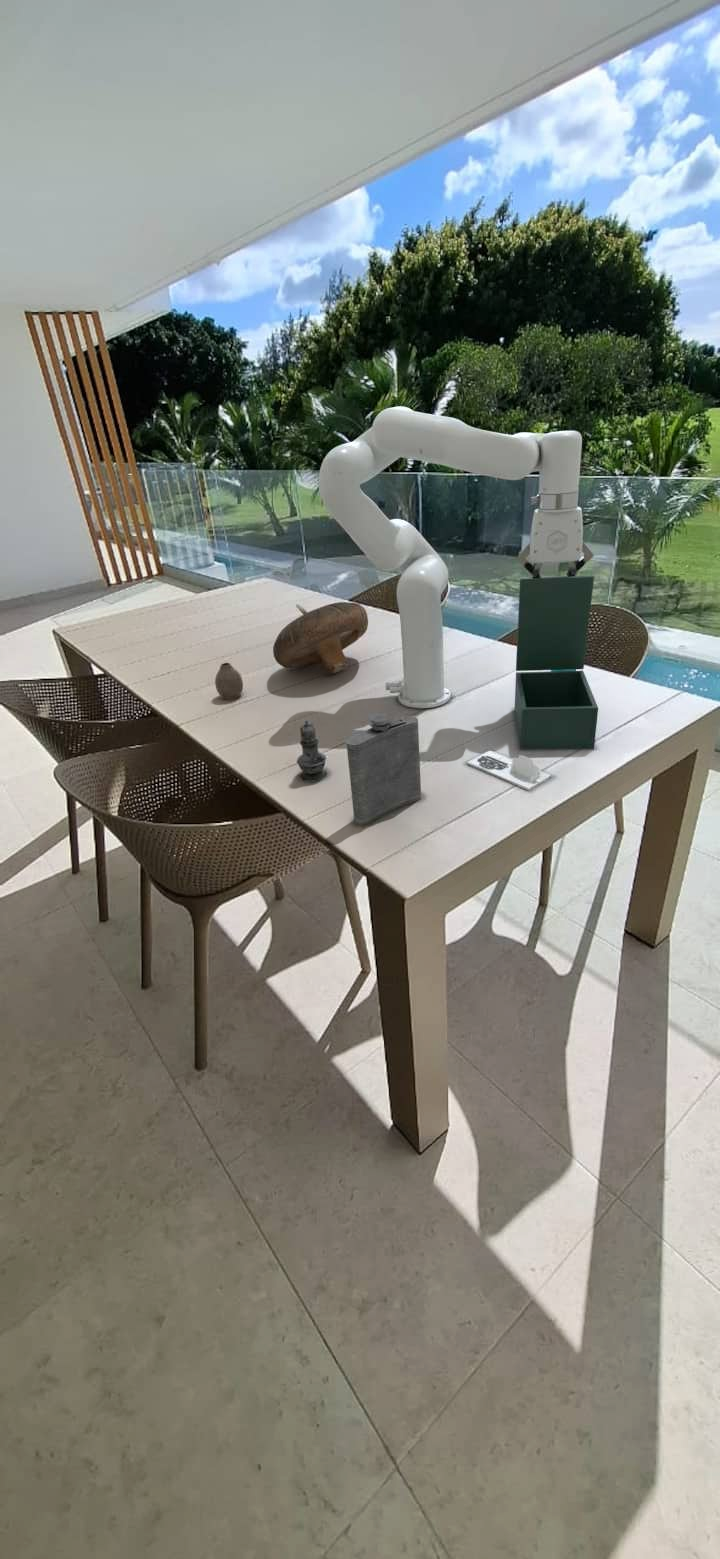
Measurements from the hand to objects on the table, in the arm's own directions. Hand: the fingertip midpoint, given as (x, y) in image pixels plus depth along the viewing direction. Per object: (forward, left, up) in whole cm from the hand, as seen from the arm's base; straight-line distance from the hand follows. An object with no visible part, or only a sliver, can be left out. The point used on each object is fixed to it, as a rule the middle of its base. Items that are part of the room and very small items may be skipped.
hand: (552, 592), depth 141 cm
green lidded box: (0, -13, -25) cm, 28 cm away
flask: (-32, -45, -26) cm, 61 cm away
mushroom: (-56, +25, -26) cm, 67 cm away
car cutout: (-10, -31, -26) cm, 41 cm away
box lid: (0, -4, -6) cm, 7 cm away
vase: (-78, +8, -26) cm, 83 cm away
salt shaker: (-48, -33, -26) cm, 63 cm away
